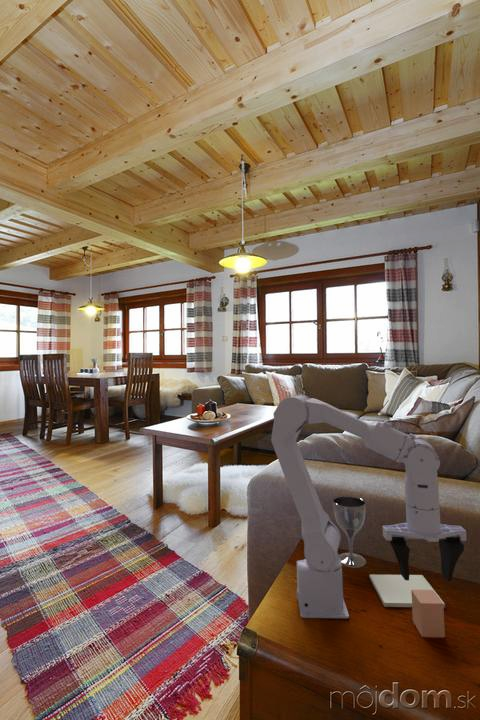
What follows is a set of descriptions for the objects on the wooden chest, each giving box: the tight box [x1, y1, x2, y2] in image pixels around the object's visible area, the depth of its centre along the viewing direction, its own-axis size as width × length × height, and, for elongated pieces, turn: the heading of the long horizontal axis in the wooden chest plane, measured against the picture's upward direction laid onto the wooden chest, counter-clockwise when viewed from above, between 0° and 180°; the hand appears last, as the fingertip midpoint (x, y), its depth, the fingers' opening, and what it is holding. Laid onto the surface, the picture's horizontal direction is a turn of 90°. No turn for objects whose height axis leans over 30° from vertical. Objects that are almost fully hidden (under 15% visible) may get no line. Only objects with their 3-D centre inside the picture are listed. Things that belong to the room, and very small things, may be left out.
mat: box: [369, 574, 446, 609], centre depth 76 cm, size 12×10×1 cm
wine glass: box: [332, 495, 367, 569], centre depth 89 cm, size 8×8×15 cm
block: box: [411, 590, 446, 638], centre depth 65 cm, size 4×4×6 cm
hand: (425, 577), depth 65 cm, fingers open, 7 cm apart
